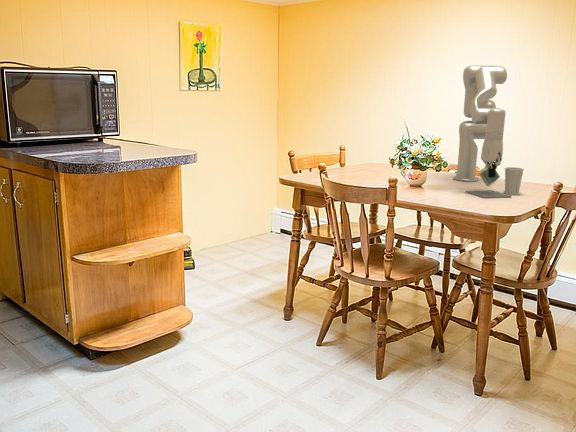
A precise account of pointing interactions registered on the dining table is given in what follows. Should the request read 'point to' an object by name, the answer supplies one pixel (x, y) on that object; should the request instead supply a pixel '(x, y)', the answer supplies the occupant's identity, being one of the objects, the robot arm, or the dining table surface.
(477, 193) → the mat
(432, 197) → the dining table surface
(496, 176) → the tile
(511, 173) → the cup
